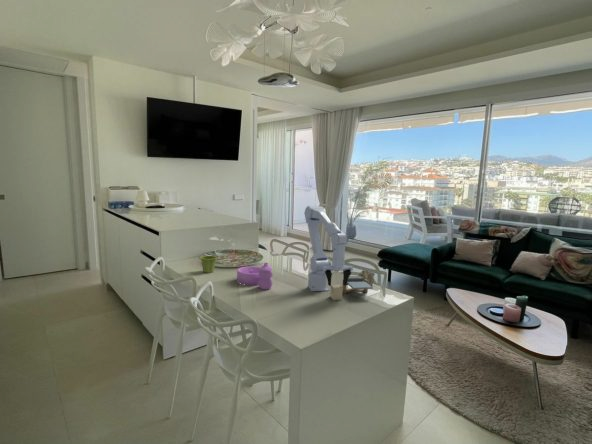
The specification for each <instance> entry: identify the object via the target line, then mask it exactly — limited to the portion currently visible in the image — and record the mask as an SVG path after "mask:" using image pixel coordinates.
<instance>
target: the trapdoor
mask: <svg viewBox="0 0 592 444" xmlns="http://www.w3.org/2000/svg"><path fill="white" fill-rule="evenodd" d="M356 281H363V278H362V277H361V276H358V275H350V276H349V278H348V280H347V284H346V286H348V287H350V288H352V289H368V290H373V285H372V286H370V285H369V284H368V283H366V282H356Z"/></svg>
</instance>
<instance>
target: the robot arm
mask: <svg viewBox="0 0 592 444" xmlns="http://www.w3.org/2000/svg"><path fill="white" fill-rule="evenodd" d="M304 218H305V222H306V224H307V228H308V233H309V238H310V241H311V242H310V243H311V247H312V253H313V255H312V256H311V257H310V260H309V261H310V264H309V265H310V270H311V272H309V273H308V283H307V284H308V285H307V287H308V289H309V290H310V292H322V291H323V292H326V291H327V292H328V291H330V289H329V288H328V287H327V285H328V286H329V287H331V285H332V277H333V273H332V272H333V271H337V272H338V271H339V272H340V271H341V272H343V273H342V274H343V275H342V276H343V278H342V285H344V286H345V285H346V283H347V280H348V278H349V276H352V271H354V267H353V266H352V265H345V257H346V256H345V255H346V245H348V243H349V236H348V234H347V232H344V231H342V230H341V229H340V228H339V226H338V225H337V224H336V223H335V222H332V221H331V220H330V218H329V217H328V215H327V210H326V209H325V207H324V206H322V205H320V206H314V205H313V206H312V205H311V206H309V205H307V206H306V207H305V209H304ZM320 223H322V224H323V225H324V226H325V232H326V233H327V234H328V235H329V237H330V241H331V247H332V259H331V260H332V261H331V260H330V259H329V255H327V254H326V253H324V249H323V244H322V240H321V234H320V229H319V226H318V225H319V224H320ZM331 262H332V263H331ZM346 286H347V285H346Z"/></svg>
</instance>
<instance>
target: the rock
mask: <svg viewBox="0 0 592 444" xmlns="http://www.w3.org/2000/svg"><path fill="white" fill-rule="evenodd" d="M357 276H361V277H362V278H363V281H364V279H367V280H368V284H369V285H370V286H372V287H373V284H374V282H375V272H371V271H369V270H367V269H363V270H362V271H360V272H359V274H358V275H357Z"/></svg>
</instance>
